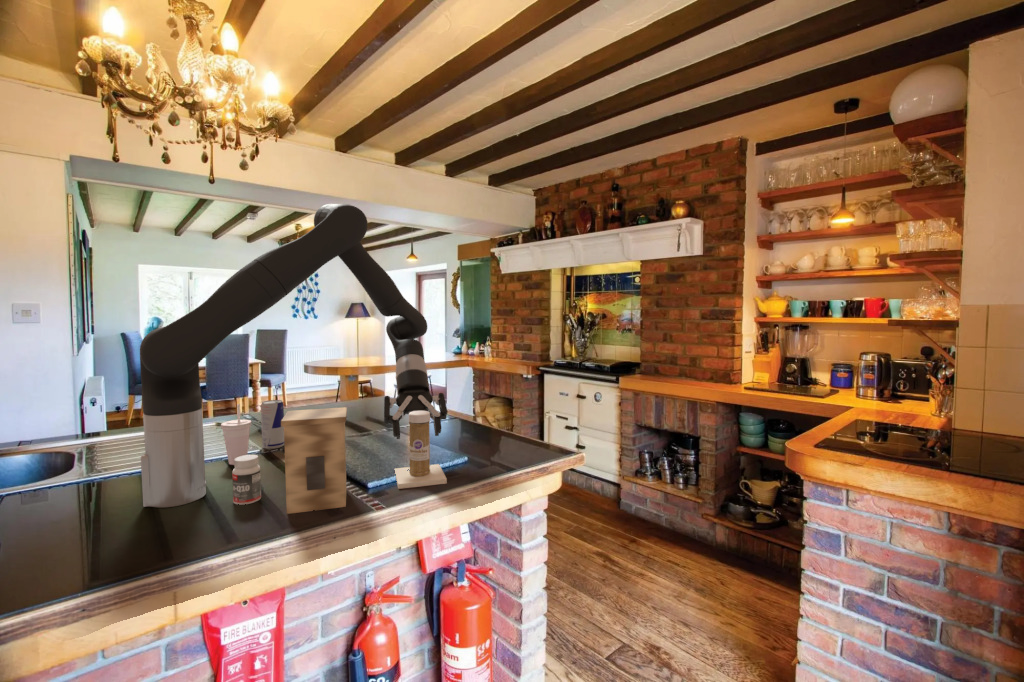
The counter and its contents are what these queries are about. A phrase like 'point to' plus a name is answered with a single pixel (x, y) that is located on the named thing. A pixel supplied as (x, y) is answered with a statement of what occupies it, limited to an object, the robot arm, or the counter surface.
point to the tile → (419, 477)
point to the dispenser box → (315, 459)
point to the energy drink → (272, 424)
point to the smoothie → (236, 437)
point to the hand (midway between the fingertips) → (418, 435)
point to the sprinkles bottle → (419, 443)
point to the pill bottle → (246, 480)
